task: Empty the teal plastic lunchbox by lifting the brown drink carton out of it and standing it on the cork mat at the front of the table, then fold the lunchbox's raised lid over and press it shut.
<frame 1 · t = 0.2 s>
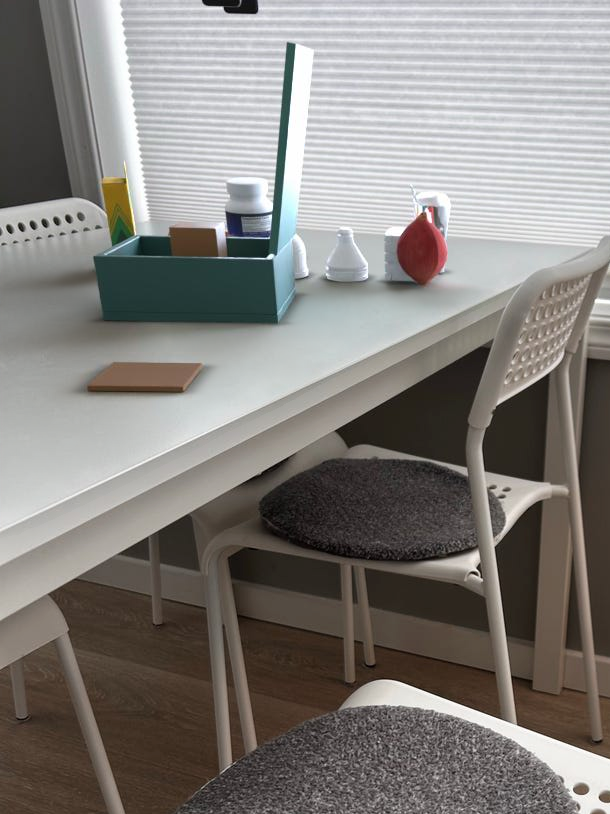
hand: (232, 10, 84), 26 cm above the table, tool pointing down, fingers open, 9 cm apart
lunchbox: (206, 306, 98), on the table
mat: (147, 378, 73), on the table
lunchbox lid: (291, 149, 91), point 15 cm above the table, hinge at 100.0°
onion: (422, 287, 111), on the table, touching container set
container set: (346, 278, 115), on the table, touching onion, pill bottle
carton: (205, 298, 97), point 1 cm above the table, touching lunchbox
milkshake: (429, 273, 120), on the table
pill bottle: (256, 271, 116), on the table, touching container set
bread slice: (230, 253, 129), on the table
crayon box: (128, 269, 117), on the table
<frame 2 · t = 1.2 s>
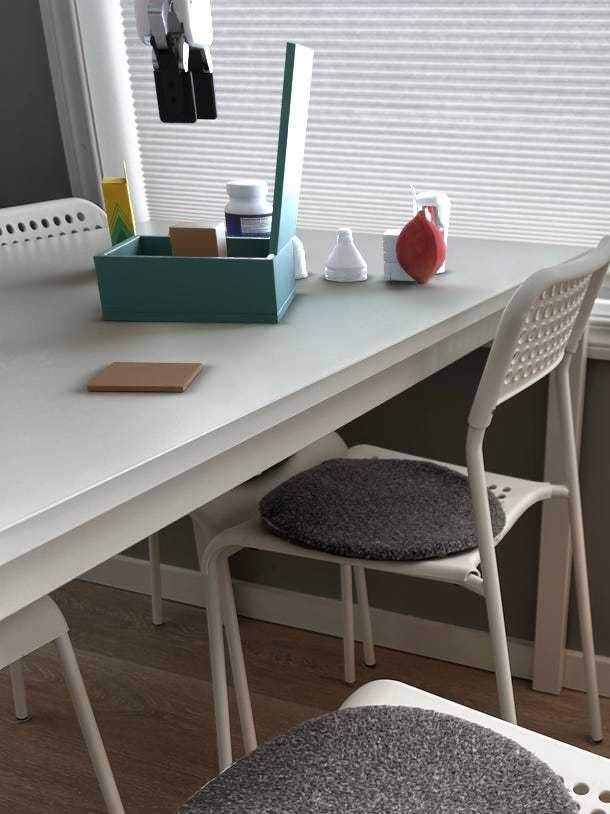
hand: (190, 121, 89), 17 cm above the table, tool pointing down, fingers open, 9 cm apart
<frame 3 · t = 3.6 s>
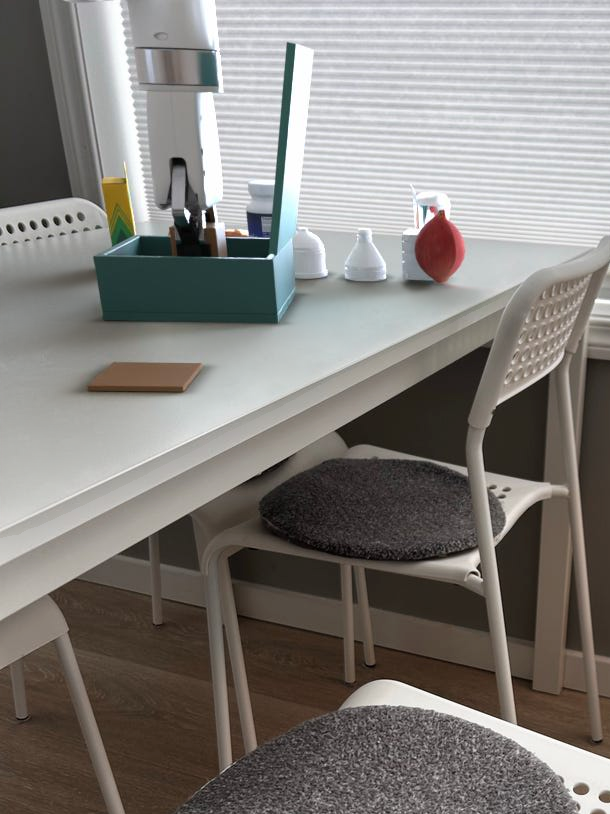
hand: (203, 280, 96), 3 cm above the table, tool pointing down, fingers closed on carton, 4 cm apart
onion: (439, 285, 111), on the table, touching container set
container set: (365, 279, 115), on the table, touching onion, pill bottle
carton: (205, 298, 97), point 1 cm above the table, touching gripper, lunchbox
pill bottle: (275, 272, 117), on the table, touching container set
everything else where it was.
when the fingers open (2 cm above the table, at t = 11.7 s): carton stays where it is, resting on mat.
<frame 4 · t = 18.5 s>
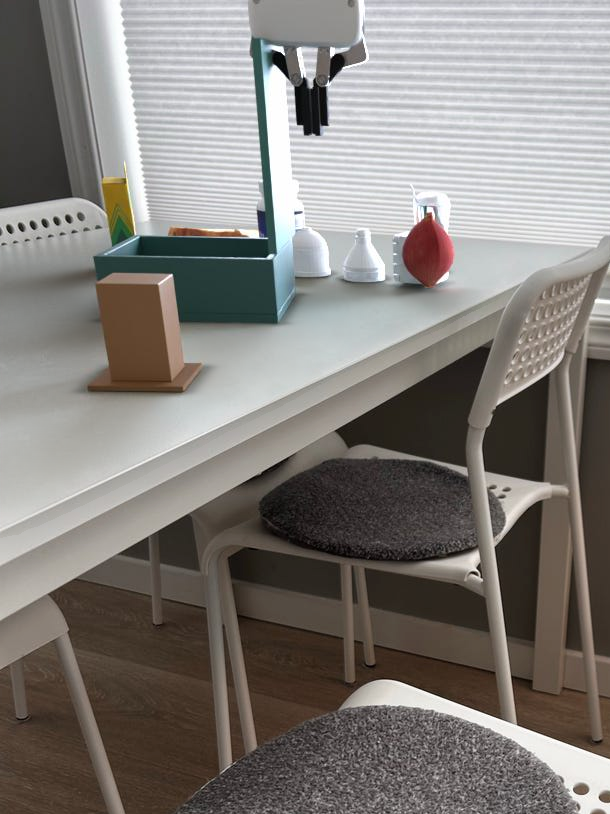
hand: (313, 134, 90), 16 cm above the table, tool pointing down, fingers closed
lunchbox lid: (275, 147, 91), point 15 cm above the table, hinge at 90.0°, touching gripper
onion: (428, 289, 109), on the table, touching container set
carton: (149, 373, 73), resting on mat
pill bottle: (284, 270, 119), on the table, touching container set
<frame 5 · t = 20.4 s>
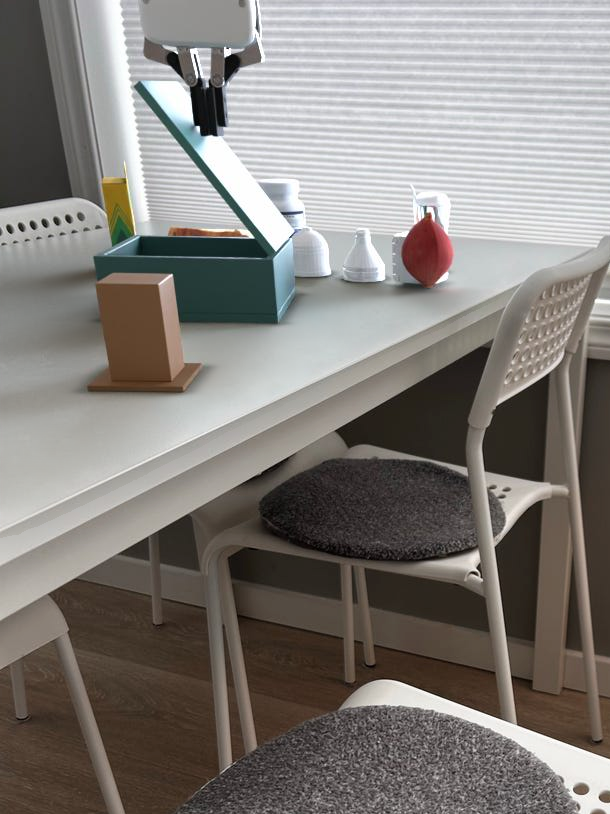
hand: (212, 135, 90), 16 cm above the table, tool pointing down, fingers closed
lunchbox lid: (222, 166, 91), point 13 cm above the table, hinge at 52.2°, touching gripper
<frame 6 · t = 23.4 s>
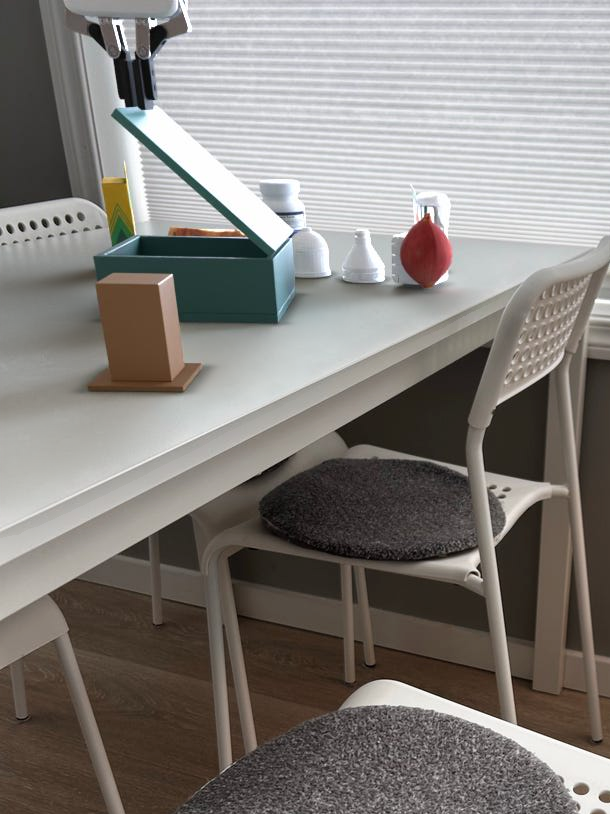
hand: (140, 108, 88), 18 cm above the table, tool pointing down, fingers closed
lunchbox lid: (211, 179, 92), point 12 cm above the table, hinge at 41.5°, touching gripper
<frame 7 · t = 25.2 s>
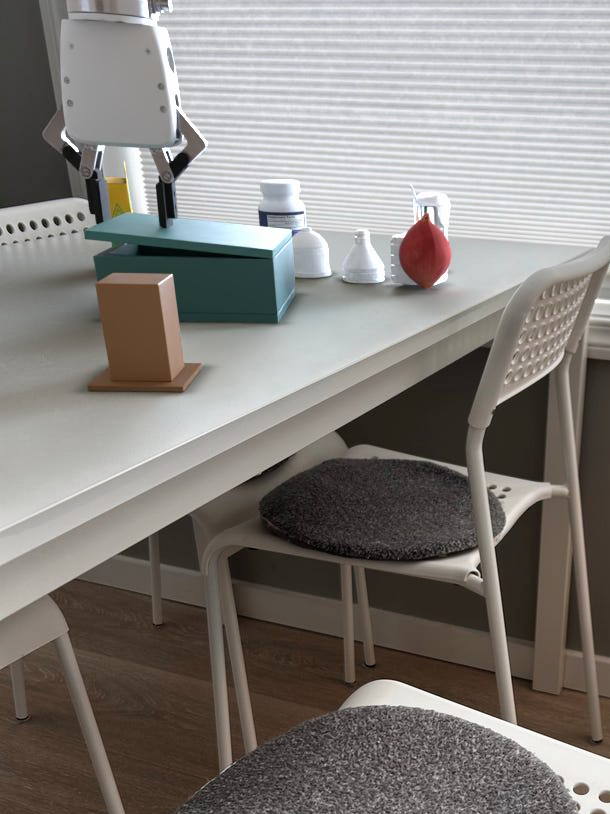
hand: (135, 223, 93), 8 cm above the table, tool pointing down, fingers closed on lunchbox lid, 5 cm apart
lunchbox lid: (195, 234, 94), point 7 cm above the table, hinge at 4.6°, touching gripper
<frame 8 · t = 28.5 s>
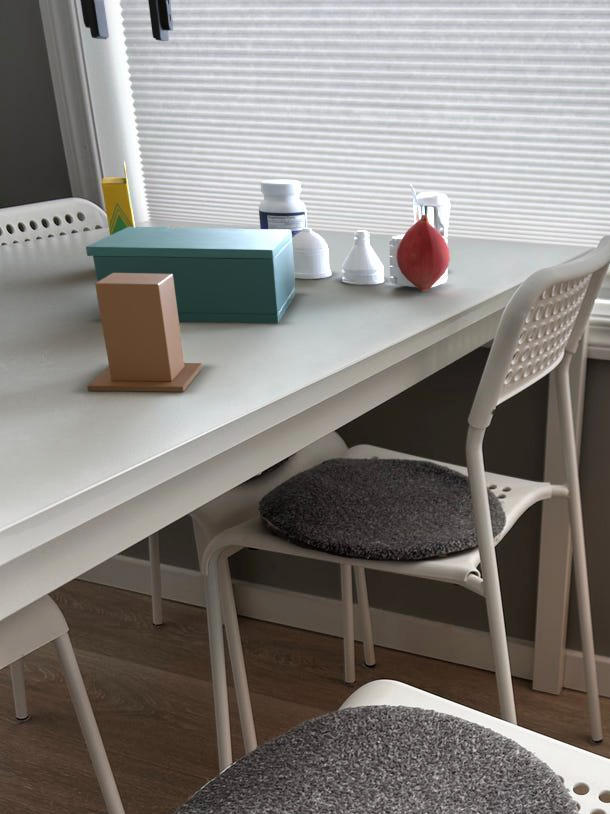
hand: (130, 36, 86), 23 cm above the table, tool pointing down, fingers open, 4 cm apart
lunchbox lid: (196, 241, 94), point 6 cm above the table, hinge at -0.2°, touching lunchbox
at the end: carton 0.2 cm off-centre on the mat, point 0.4 cm above the mat's base; carton tilted 0°; lunchbox lid at +0° (first picture: +100°) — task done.
